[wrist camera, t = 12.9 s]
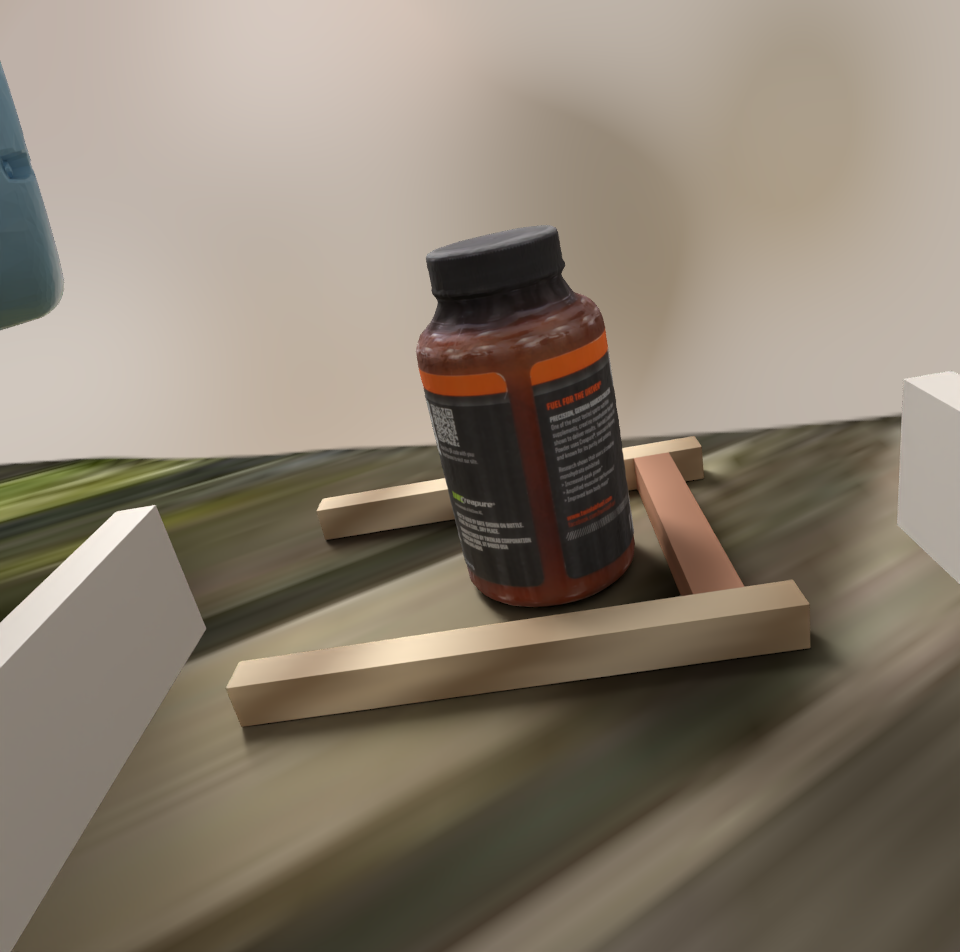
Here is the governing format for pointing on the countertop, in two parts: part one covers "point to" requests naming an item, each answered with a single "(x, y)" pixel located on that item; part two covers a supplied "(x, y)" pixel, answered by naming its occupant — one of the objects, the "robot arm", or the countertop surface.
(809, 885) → the countertop surface
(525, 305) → the supplement bottle
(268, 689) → the guide channel
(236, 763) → the countertop surface
